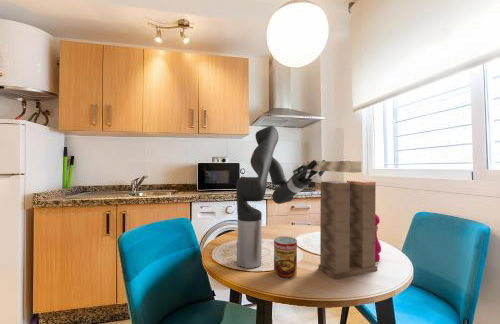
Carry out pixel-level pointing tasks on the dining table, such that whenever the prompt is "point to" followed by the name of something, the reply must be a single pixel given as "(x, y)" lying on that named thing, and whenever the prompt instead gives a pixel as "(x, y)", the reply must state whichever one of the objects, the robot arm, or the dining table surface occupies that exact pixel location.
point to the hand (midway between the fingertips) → (320, 162)
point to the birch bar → (338, 166)
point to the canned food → (285, 257)
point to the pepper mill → (377, 244)
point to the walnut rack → (347, 228)
